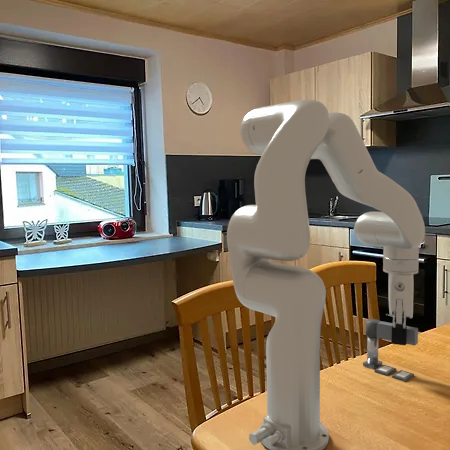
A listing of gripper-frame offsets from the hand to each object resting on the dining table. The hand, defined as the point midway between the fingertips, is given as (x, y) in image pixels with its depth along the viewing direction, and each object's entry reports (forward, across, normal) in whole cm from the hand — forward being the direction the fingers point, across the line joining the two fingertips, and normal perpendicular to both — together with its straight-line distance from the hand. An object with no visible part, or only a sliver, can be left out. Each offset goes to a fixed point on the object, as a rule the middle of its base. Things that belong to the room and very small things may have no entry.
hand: (398, 343), depth 108 cm
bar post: (+8, +6, +6) cm, 12 cm away
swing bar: (0, +4, +2) cm, 5 cm away
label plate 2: (+8, +1, -1) cm, 8 cm away
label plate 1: (+8, +3, +3) cm, 9 cm away
